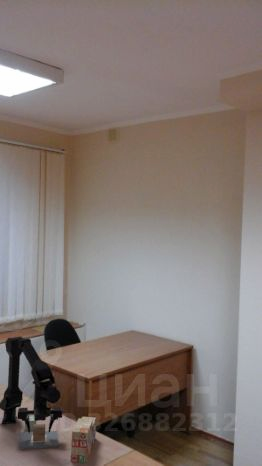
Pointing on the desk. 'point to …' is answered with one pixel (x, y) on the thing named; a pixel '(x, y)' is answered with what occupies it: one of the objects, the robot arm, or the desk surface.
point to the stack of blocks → (83, 439)
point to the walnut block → (39, 432)
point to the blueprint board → (28, 442)
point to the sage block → (30, 424)
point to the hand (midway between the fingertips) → (39, 432)
